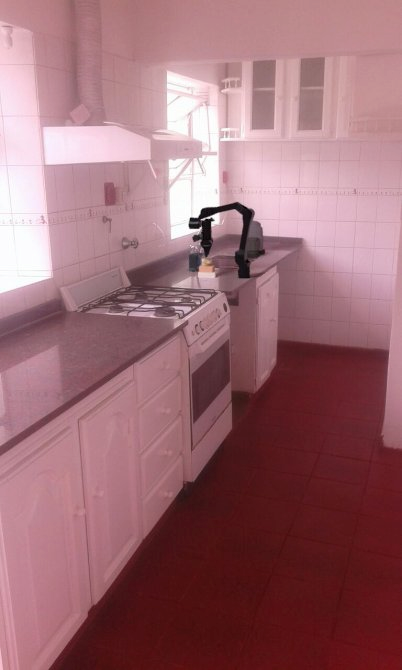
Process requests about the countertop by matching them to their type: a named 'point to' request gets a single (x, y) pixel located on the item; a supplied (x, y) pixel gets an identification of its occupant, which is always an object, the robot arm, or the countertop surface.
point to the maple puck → (207, 262)
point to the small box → (195, 261)
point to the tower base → (207, 275)
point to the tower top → (206, 269)
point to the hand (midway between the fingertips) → (207, 255)
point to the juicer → (255, 241)
